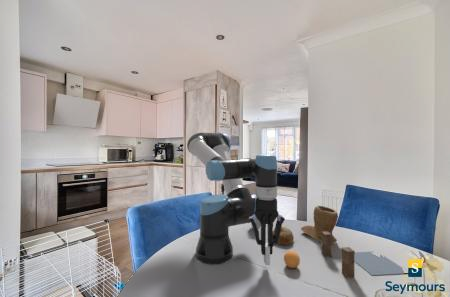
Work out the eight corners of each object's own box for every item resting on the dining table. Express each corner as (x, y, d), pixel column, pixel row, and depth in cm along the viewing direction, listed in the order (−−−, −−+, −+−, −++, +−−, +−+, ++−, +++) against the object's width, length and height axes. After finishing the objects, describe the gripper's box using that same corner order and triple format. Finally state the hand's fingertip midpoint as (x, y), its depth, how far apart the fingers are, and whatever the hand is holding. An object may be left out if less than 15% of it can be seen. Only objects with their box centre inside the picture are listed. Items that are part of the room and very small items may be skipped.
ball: (287, 271, 70) (287, 256, 70) (281, 262, 75) (281, 248, 75) (302, 271, 70) (302, 255, 70) (295, 262, 76) (295, 247, 76)
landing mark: (371, 275, 68) (371, 275, 68) (344, 253, 82) (344, 252, 82) (410, 273, 69) (410, 272, 69) (376, 251, 83) (376, 251, 83)
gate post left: (325, 257, 79) (325, 234, 79) (321, 253, 82) (321, 231, 81) (331, 256, 79) (331, 234, 79) (327, 253, 82) (327, 231, 82)
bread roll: (290, 254, 88) (299, 239, 87) (269, 242, 89) (277, 227, 89) (288, 243, 97) (295, 229, 96) (268, 233, 99) (275, 219, 98)
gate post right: (346, 278, 66) (347, 251, 66) (341, 273, 69) (341, 247, 69) (354, 277, 67) (354, 251, 66) (349, 272, 69) (349, 247, 69)
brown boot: (344, 243, 90) (344, 210, 89) (322, 247, 86) (322, 213, 86) (319, 229, 104) (319, 201, 104) (300, 232, 101) (300, 203, 101)
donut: (249, 225, 110) (249, 207, 110) (255, 225, 111) (255, 207, 110) (255, 233, 100) (255, 214, 100) (261, 233, 101) (261, 213, 100)
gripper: (250, 200, 68) (251, 270, 68) (288, 199, 68) (288, 268, 69) (246, 195, 75) (247, 257, 75) (280, 194, 76) (280, 256, 76)
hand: (266, 262), depth 72 cm, fingers closed
